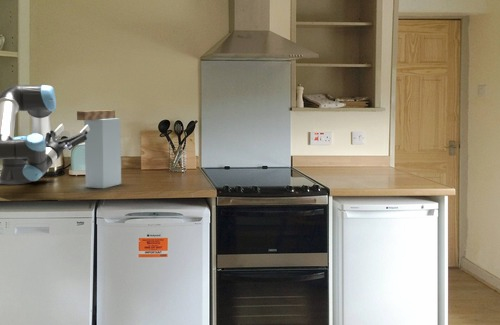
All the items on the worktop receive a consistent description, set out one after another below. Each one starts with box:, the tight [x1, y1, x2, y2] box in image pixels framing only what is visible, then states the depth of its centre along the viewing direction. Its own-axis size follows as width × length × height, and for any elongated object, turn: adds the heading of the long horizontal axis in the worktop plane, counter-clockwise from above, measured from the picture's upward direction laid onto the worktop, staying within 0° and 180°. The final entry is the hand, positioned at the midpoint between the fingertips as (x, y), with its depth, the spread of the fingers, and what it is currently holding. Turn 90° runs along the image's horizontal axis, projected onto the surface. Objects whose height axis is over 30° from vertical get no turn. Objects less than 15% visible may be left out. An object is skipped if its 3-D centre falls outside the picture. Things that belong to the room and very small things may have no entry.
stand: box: [83, 117, 122, 189], centre depth 287 cm, size 16×10×33 cm, turn 161°
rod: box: [76, 109, 116, 121], centre depth 280 cm, size 26×4×4 cm, turn 161°
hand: (75, 126), depth 264 cm, fingers open, 13 cm apart
